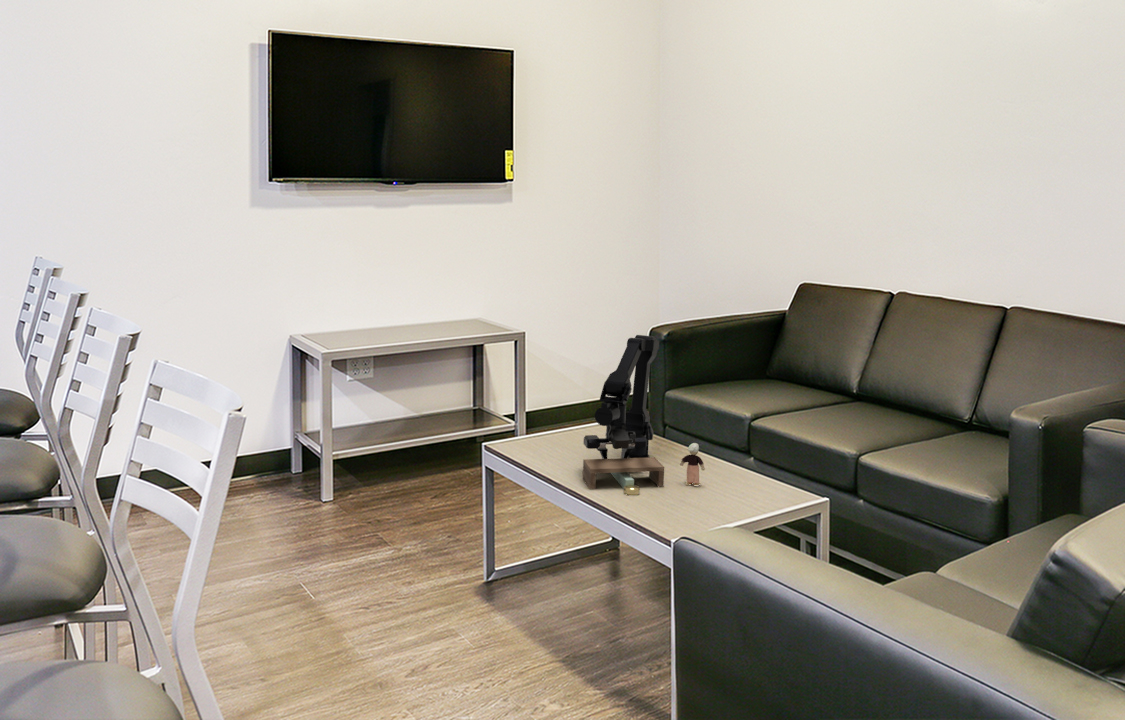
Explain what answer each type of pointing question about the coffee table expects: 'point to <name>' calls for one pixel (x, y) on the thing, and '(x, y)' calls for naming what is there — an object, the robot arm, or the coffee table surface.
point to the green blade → (623, 478)
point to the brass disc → (631, 489)
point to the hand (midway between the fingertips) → (614, 468)
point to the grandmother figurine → (693, 464)
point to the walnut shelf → (622, 468)
